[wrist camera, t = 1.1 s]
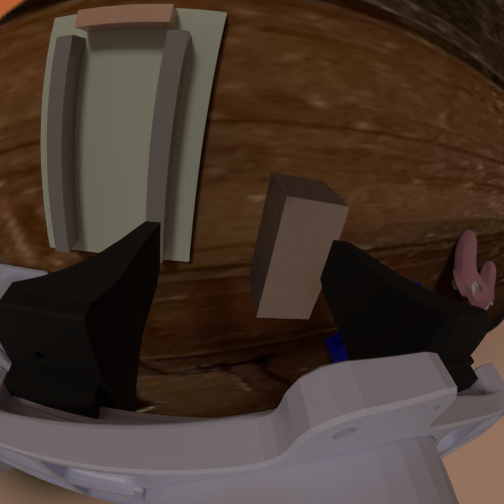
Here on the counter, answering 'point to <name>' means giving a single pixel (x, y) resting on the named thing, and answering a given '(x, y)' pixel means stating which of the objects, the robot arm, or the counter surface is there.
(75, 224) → the drive tray
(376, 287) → the robot arm
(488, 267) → the video game controller
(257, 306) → the block
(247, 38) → the counter surface
